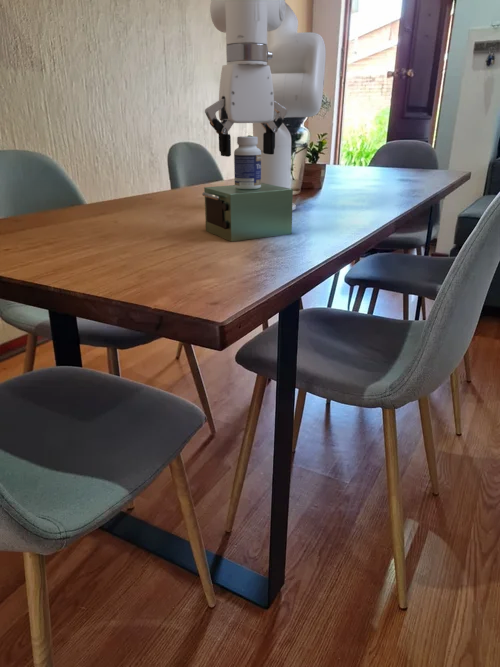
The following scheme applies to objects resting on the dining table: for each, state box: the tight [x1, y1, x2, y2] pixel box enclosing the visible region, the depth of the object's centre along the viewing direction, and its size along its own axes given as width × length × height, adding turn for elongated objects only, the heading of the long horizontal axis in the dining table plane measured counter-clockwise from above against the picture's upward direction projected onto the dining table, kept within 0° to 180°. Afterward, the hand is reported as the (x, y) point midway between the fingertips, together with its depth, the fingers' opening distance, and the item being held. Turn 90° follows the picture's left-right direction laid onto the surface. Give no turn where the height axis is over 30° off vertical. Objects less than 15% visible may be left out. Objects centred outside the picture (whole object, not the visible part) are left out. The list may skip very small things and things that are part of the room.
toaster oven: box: [202, 183, 294, 243], centre depth 105 cm, size 12×15×9 cm
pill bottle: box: [233, 135, 261, 189], centre depth 101 cm, size 5×5×10 cm
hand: (247, 155), depth 101 cm, fingers open, 9 cm apart
